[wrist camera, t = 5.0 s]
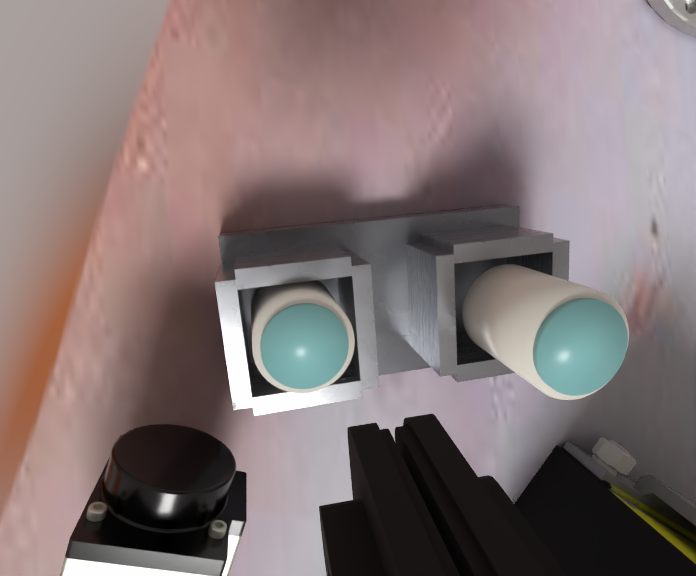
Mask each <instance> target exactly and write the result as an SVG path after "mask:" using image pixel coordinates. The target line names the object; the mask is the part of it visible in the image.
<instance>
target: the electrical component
mask: <svg viewBox="0 0 696 576" xmlns="http://www.w3.org/2000/svg"><path fill="white" fill-rule="evenodd" d="M592 453H593V455H592V456H591V455H589V454H588V453H586V452H585V451H583V450H581V449H580V448H578V447H577V446H575V445H573V444H572V443H570V442H569V441H567V442H566V443H565V445H564V446H563V447H562V448H560V447H559V446H556V447H555V448H554V450H553V451H552V452H551V454H550V455H549V457H548V458H547V459H546V461H545V462H544V464H543V465H542V466H541V468H540V469H539V471H538V472H537V473H536V475H535V476H534V477H533V479H532V480H531V482H530V483H529V484H528V486H527V487H526V489H525V490H524V491H523V493H522V494H521V495H520V497H519V498H518V500H517V501H516V502H515V504H514V505H515V506H516V508H517V509H518V510H519V512H520V513H521V514H522V516H523V517H524V518H525V520H526V521H527V522H528V524H529V525H530V526H531V528H532V529H533V530H534V532H535V533H536V534H537V536H538V537H539V538H540V540H541V541H542V542H543V544H544V545H545V546H546V548H547V549H548V550H549V552H550V553H551V554H552V556H553V557H554V558H555V560H556V561H557V562H558V564H559V565H560V566H561V568H562V569H563V570H564V572H565V573H566V574H567V576H696V504H695V503H693V502H692V501H690V500H688V499H687V498H685V497H684V496H682V495H681V494H679V493H677V492H676V491H674V490H673V489H671V488H670V487H668V486H666V485H665V484H663V483H662V482H660V481H659V480H657V479H655V478H654V477H652V476H651V475H648V476H645V477H641V478H640V479H639V480H638V481H637V482H636V483H634V482H633V481H631V480H629V479H628V478H626V477H625V476H623V475H622V474H624V475H628V474H629V472H630V471H631V470H632V468H633V467H634V466H635V464H636V461H635V459H634V458H633V457H631V456H630V455H629V454H630V452H629V451H627V450H626V449H624V448H623V447H621V446H620V445H619V444H617V443H616V442H614V441H612V440H611V439H610V441H608V440H607V439H605V438H601V437H600V439H599V440H598V442H597V443H596V444H595V446H594V447H593V448H592Z"/></svg>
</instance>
